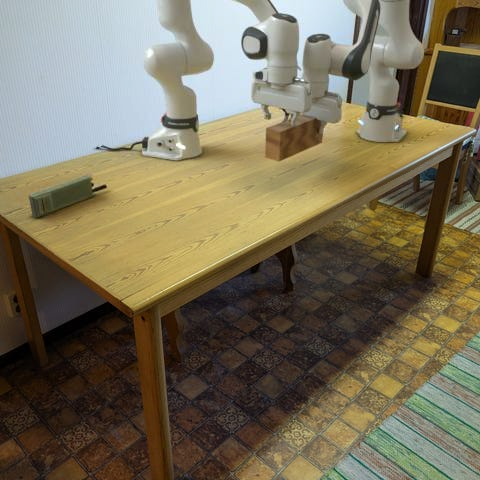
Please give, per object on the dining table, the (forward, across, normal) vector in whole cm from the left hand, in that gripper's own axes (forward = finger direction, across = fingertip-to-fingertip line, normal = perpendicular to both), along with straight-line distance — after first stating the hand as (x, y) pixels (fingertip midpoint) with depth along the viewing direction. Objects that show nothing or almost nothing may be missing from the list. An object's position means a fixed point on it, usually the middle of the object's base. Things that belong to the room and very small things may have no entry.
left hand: (279, 122), depth 154 cm
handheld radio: (+21, +38, +51) cm, 67 cm away
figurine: (+21, +26, -42) cm, 54 cm away
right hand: (+7, 0, -18) cm, 19 cm away
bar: (+11, 0, -9) cm, 14 cm away
